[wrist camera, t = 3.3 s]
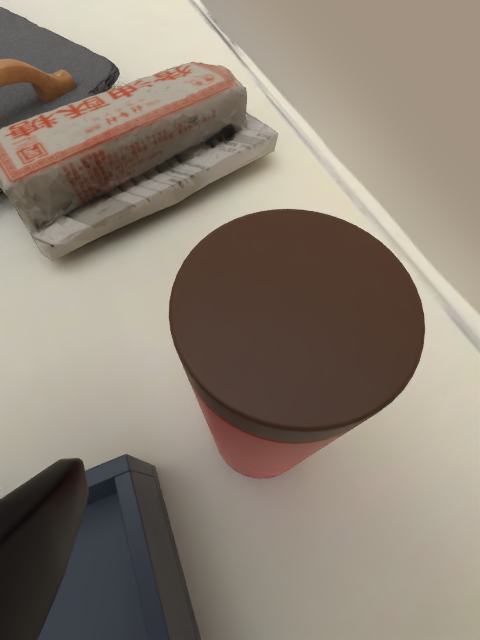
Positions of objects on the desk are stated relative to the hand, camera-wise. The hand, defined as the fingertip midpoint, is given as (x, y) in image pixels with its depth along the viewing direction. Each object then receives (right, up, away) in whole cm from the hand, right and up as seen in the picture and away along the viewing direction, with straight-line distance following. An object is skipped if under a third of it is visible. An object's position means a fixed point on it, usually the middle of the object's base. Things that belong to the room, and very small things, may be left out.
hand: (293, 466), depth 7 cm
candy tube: (0, -2, +10) cm, 10 cm away
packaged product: (-8, +14, +18) cm, 25 cm away
